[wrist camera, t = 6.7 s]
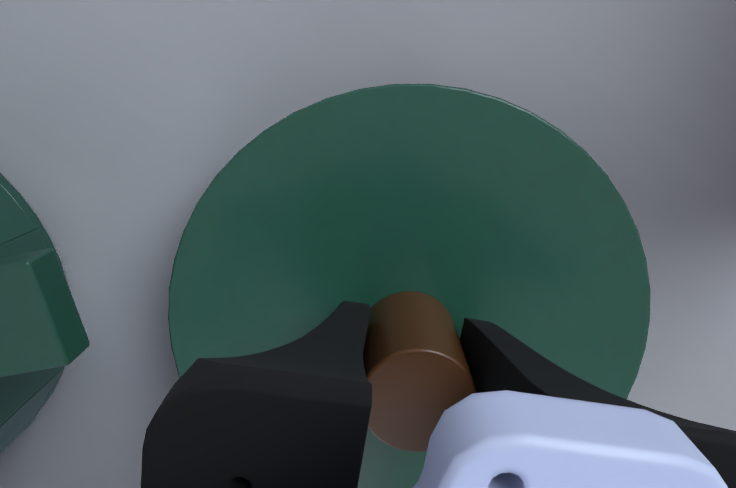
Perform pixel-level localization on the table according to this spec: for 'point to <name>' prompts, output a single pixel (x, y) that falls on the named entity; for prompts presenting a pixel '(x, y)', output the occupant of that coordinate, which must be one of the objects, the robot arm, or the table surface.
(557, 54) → the table surface
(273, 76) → the table surface
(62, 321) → the pot
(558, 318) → the pot lid
